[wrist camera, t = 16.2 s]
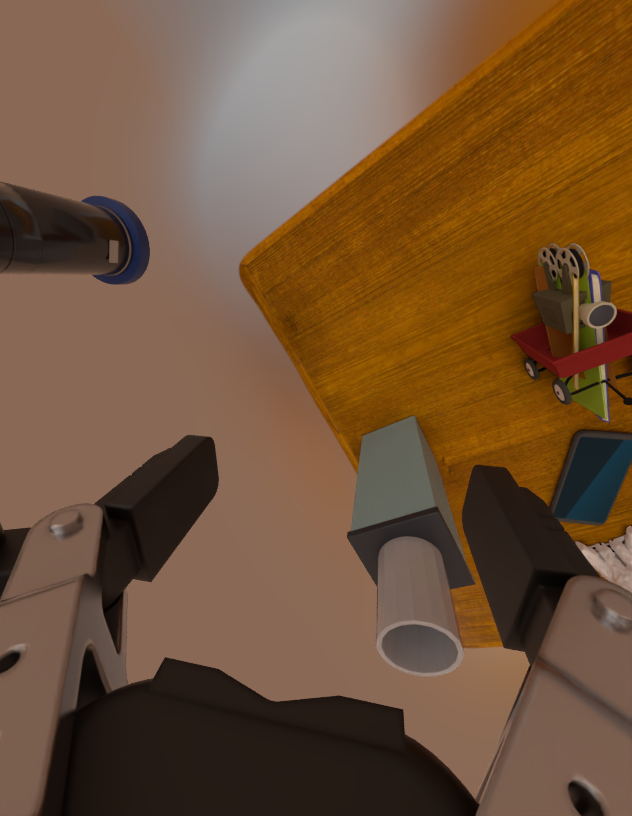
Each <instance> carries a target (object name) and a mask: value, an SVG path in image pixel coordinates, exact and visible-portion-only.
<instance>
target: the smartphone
mask: <svg viewBox="0 0 632 816" xmlns="http://www.w3.org/2000/svg"><path fill="white" fill-rule="evenodd" d="M631 462H632V434H631V433H620V432H606V431H592V430H582V431H579V432H577V433H576V434H575V436H574V438H573V441H572V444H571V447H570V450H569V453H568V456H567V459H566V462H565V465H564V468H563V471H562V474H561V476H560V479H559V482H558V485H557V488H556V491H555V494H554V497H553V500H552V503H551V506H550V510H551V511H552V513H553V514H554V518H556V519H557V520H558V521H563V522H571V523H580V524H589V525H602V524H604V523H605V522H606V520H607V518H608V516H609V513H610V511H611V509H612V506H613V504H614V502H615V499H616V497H617V495H618V493H619V490H620V488H621V486H622V483H623V481H624V479H625V476H626V474H627V472H628V469H629V467H630V465H631Z"/></svg>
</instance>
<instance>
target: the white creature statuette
mask: <svg viewBox="0 0 632 816" xmlns="http://www.w3.org/2000/svg"><path fill="white" fill-rule="evenodd" d="M624 540H625V542H624V544H623V543H622V541H624ZM608 542H609V543H606V544H604V543H603V542H601V545H602V546H601V545H600V544H599V543H597V544H595V545H592V546H586V545H584V544H582V543H580V542H577V541H575V544H576V545H577V546H578V548H579V549H580V550H581V552H582V553H583V555H584V556H585V557H586V559H587V560H588V561H589V563H590V564H591V565H592V567H594V569H595V570H597V571H599V572H600V574H601V575H602V576H603V577H604V578H606V579H607V580H608V581H610V582H612V583H614V584H617V585H619V586H621V587H623V588H624V589H626V590H628V591H630V592H631V593H632V527H631V526H629V527H627V529H626V534H625V535H623V536H621V537H618V538H616V539H615V538H614V539H613V541H611V540H609V541H608ZM607 545H610V546H611V548H612V549H613V550H614V551H615V552H612V549H610V548H609V547H607ZM593 547H595V548H596V549H592V548H593ZM596 551H598V553H597V552H596Z"/></svg>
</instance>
